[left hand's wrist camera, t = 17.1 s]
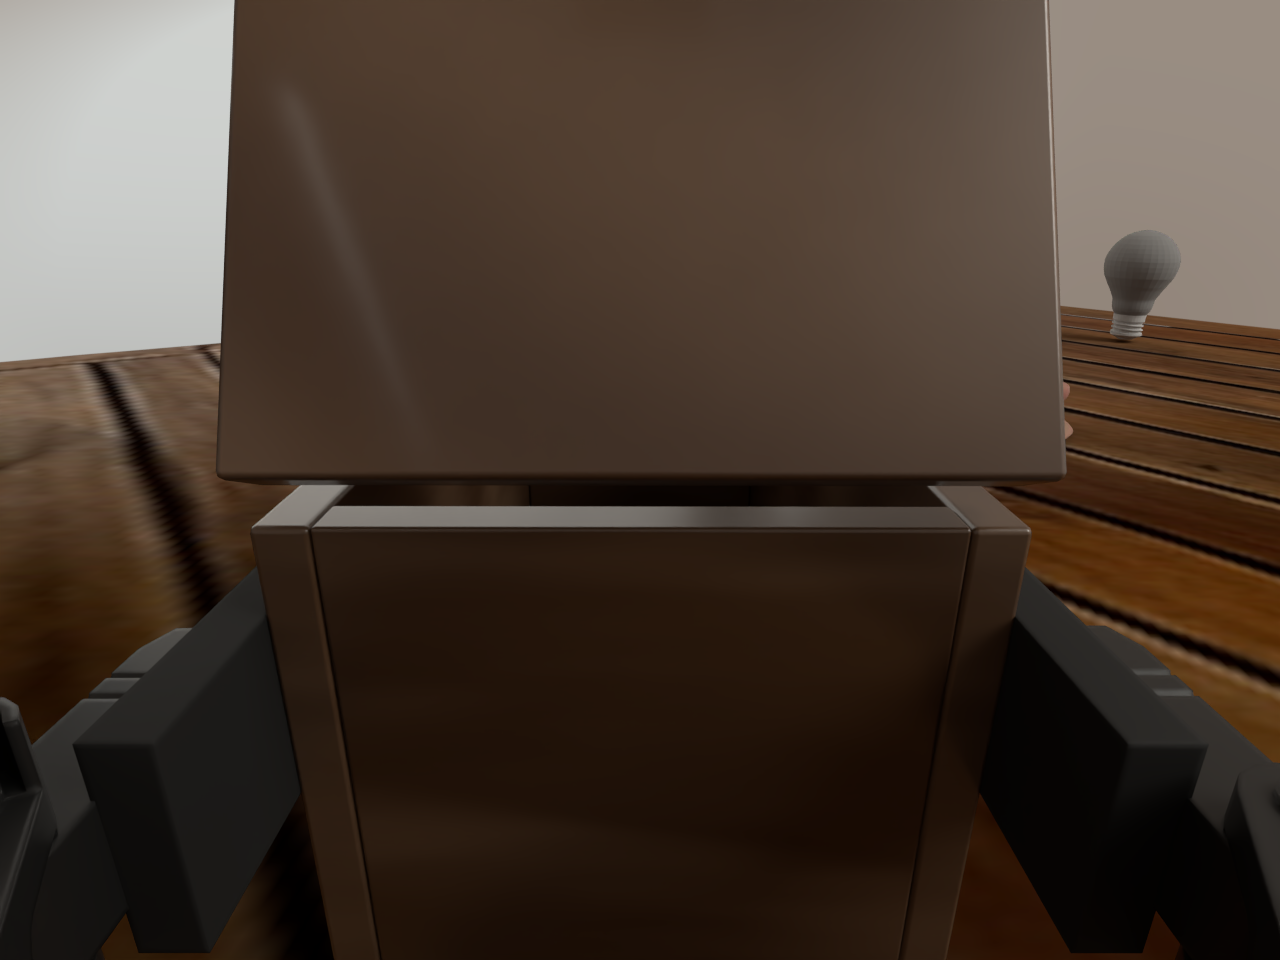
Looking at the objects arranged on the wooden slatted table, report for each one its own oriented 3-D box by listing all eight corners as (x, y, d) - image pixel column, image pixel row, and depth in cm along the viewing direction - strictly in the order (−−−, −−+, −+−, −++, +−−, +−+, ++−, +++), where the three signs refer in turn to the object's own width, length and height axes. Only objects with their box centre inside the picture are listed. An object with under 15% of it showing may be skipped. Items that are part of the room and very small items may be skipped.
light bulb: (1104, 343, 71) (1128, 231, 68) (1079, 332, 77) (1100, 228, 73) (1173, 345, 70) (1201, 232, 67) (1143, 334, 76) (1168, 229, 72)
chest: (516, 573, 28) (500, 311, 25) (762, 573, 28) (779, 311, 25) (354, 1076, 12) (246, 528, 9) (924, 1076, 12) (1036, 529, 9)
